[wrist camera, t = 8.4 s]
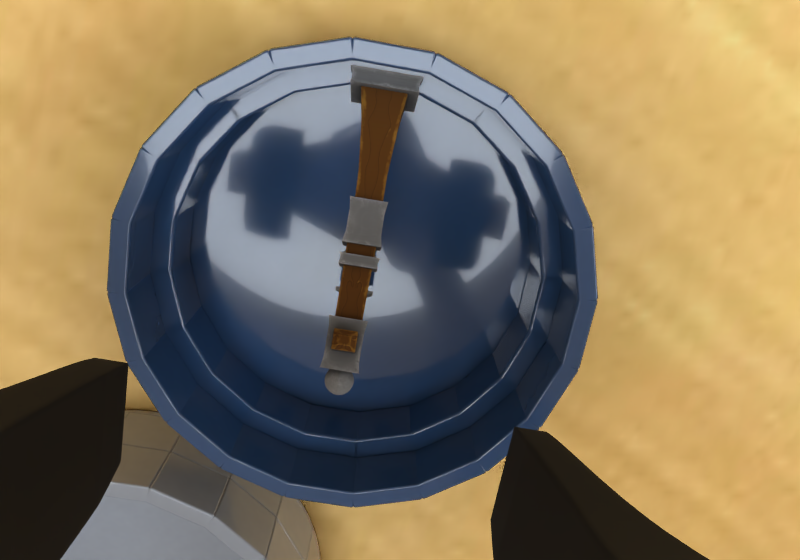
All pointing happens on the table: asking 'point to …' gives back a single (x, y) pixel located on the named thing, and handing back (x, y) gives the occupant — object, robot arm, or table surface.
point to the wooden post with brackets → (365, 214)
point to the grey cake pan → (187, 507)
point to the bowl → (320, 274)
